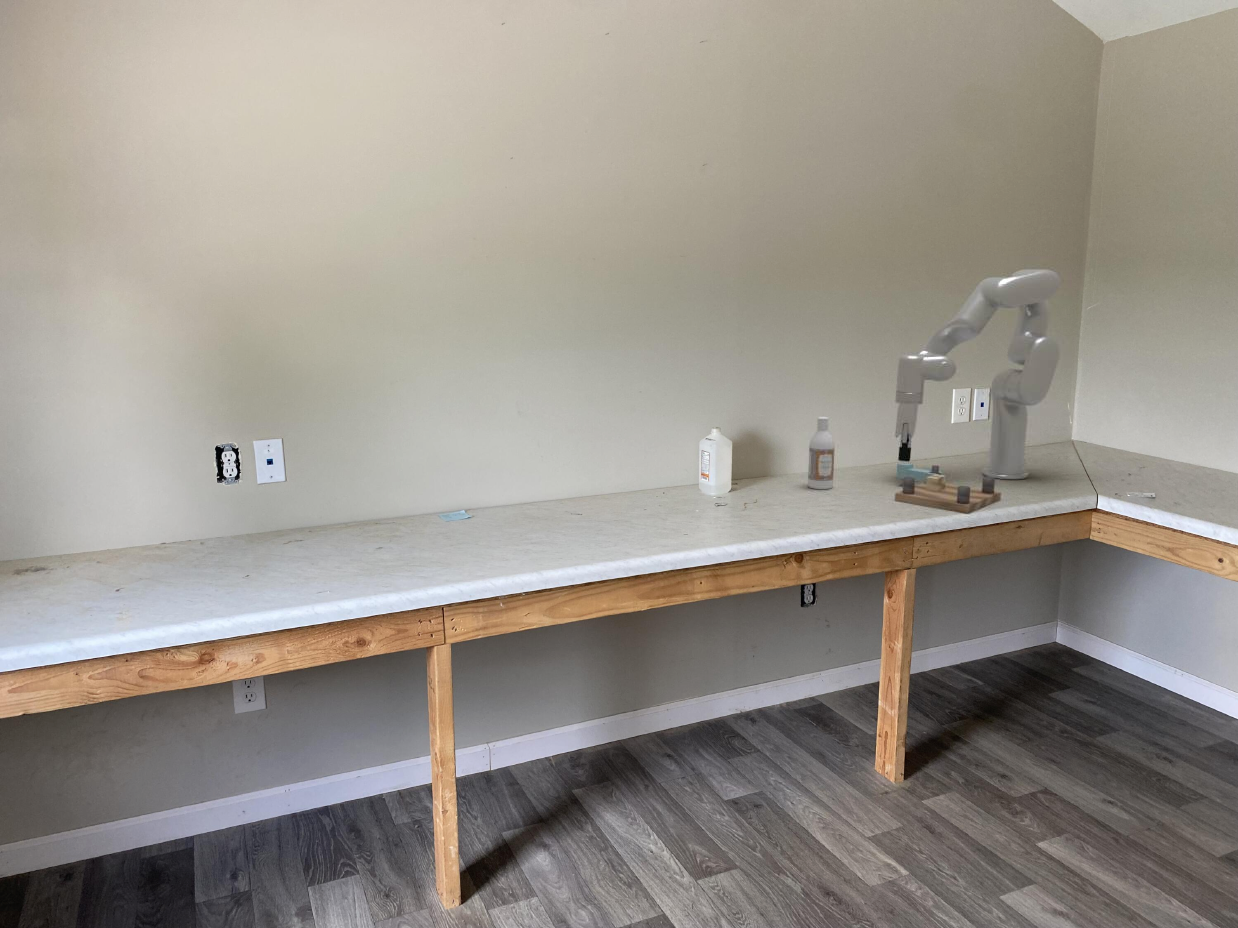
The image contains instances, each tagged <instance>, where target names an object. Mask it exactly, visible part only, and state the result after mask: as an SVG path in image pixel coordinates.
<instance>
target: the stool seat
mask: <svg viewBox="0 0 1238 928" xmlns="http://www.w3.org/2000/svg"><path fill="white" fill-rule="evenodd" d="M939 470H940V465H933V464H932V465H931V471H932V473H933V474H935V475H932V476H929V477H927V480H926V482H922V483H920V484H917V485H916V481H915V478H912V477H904V478H903V479H902V490H901V491H898V492H895V494H894V501H895V502H902V503H907V504H912V505H918V506H923V507H929V508H934V509H940V510H946V511H949V512H950V511H951V512H952V511H953V512H957V513H961V514H971V513H973V512H975V511H977V510H979V509H982V508H984V507H987V506H988V505H991V504H993V503H996V502H998V501H1000V500H1001V498H1002V491H996V490H995V484H996V483H995V482H996V478H994V477H989V476H986V475H984V476H982V485H981V488H977V487H970V486H967V485H959V484H953V483H946V475H944V474H943V475H938V474H939V472H940V471H939Z"/></svg>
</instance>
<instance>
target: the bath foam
mask: <svg viewBox="0 0 1238 928" xmlns="http://www.w3.org/2000/svg"><path fill="white" fill-rule="evenodd" d="M816 421H817V424H816V426H817V429H816V431H815V432H814V434H813V435H812V437H811V439H810V442H809V446H808V447H809V448H808V471H807V472H808V473H807V474H808V475H807V476H808V477H807V486H808V487H809V488H810V489H815V490H830V489H832V488H833V487H834V472H835V471H834V470H835V442H834V438H833V437H832V434H830V432H829V430H828V429H829V417H826V416H818V417H817V420H816Z"/></svg>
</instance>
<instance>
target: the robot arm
mask: <svg viewBox="0 0 1238 928" xmlns="http://www.w3.org/2000/svg"><path fill="white" fill-rule="evenodd" d="M1061 286H1062V285H1061V279H1060V276H1059V275H1058V274H1057V272H1056V271H1054V270H1053V271H1052V270H1050V269H1029V268H1028V269H1021V270H1017V271H1015V272H1014V273H1013V274H1011V275H1010V277H1008V276H1007V277H1002V276H1001V277H987V278H985V279H983V280H981V282H979V283H978V285H977V286H976V288H975V289H974V290H973V291H972V293H971V294H970V296H969V297H968V298H967V300H966V301H965V302H964V304H963V305H962V307H961V308H960V309H959V310H958V312H957V313H956V314H955V316H954V317H953V318H952V319H951V320H950V321H949V322H947V323H946V324H944V326H942V327H941V328H940V329H939V330H937V331H936V332H934V333H933V334H932V335H931V337H929V339H928V340H927V341H926V342H925V343H924V345H923V346H922V347H921V349H920V350H919V351H918V352H917V354H910V353H909V354H907V353H906V354H902V355H900V356H899V358H898V362H897V363H898V365H897V375H896V376H897V377H896V388H895V403H896V404H898V406H897V415H896V422H895V423H896V424H895V432H894V437H895V438H896V439H897V438H898V437H899V436H900V437H899V438H900V440H899V447H898V448H899V449H898V461H899V462H907V463H909V462H910V461H911V452H912V438H914V435H915V432H916V428H917V422H918V421H917V420H918V409H919V405H923V404H924V394H925V393H924V390H925V381H934V382H946V381H948V380H950V379H952V378H953V377H954V376H955V374H956V372H957V364H956V362H955V361H954V359H952V357H950V356H948V354H949V352H951V351H952V350H953V349H955V348H956V347H957V346H959V345H961V344H963V343H966V342H968V341H971V340H972V339H975V338H977V336H979V335H980V334H981V333H982V332H983V331H984V329H985V327H986V326H987V325H988V324H989V322H990V321H991V319H992V318H993V316H995V314H996V313H997V311H998V310H999V309H1015V308H1018V315H1017V320H1016V323H1015V326H1014V330H1013V332H1012V335H1011V338H1010V342H1009V345H1008V348H1007V356H1008V359H1009V361H1010V362H1011V363H1013V364H1015V365H1017V366H1023V367H1022V369H1019V368H1018V369H1017V368H1005V369H1003V370H1000V371H998V372H997V373H996V374H995V375H994V377H993V379H992V381H991V388H990V389H991V398H992V400H991V401H992V417H991V418H992V419H991V420H992V421H991V430H990V431H991V432H990V442H989V443H990V444H989V445H990V446H989V456H988V457H989V458H988V467H985V468H984V469H982V474H983V475H984V476H989V477H994V478H995V479H1002V480H1021V479H1022V480H1023V479H1027V478H1028V477H1029V472H1028V471H1027V470H1025V469H1024V465H1025V464H1026V462H1027V461H1026V459H1025V452H1026V451H1025V450H1026V440H1027V439H1026V436H1027V427H1028V426H1027V425H1028V408H1027V406H1029V407H1032V406H1036V405H1038V404H1040V403H1041V402H1042V401H1044V399H1045V398H1046V396H1047V394H1048V393H1049V391H1050V387H1051V384H1052V381H1053V379H1054V376H1055V373H1056V370H1057V367H1058V364H1059V360H1060V357H1061V356H1060V354H1061V353H1060V352H1061V351H1060V345H1059V343H1058V341H1057V340H1056V339H1055V338H1054V337H1052V336H1051V335H1048V334H1047V332H1048V328H1049V324H1050V321H1051V306H1050V304H1049V300H1051V299H1053V298H1054V297H1055V296H1056V295H1057V294H1058V293H1059V291H1060V288H1061Z"/></svg>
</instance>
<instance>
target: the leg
mask: <svg viewBox="0 0 1238 928" xmlns="http://www.w3.org/2000/svg"><path fill="white" fill-rule="evenodd" d="M932 475H935V474H933V473H932V470H929V469H928V470H926V469H920V468H914V463H909V462H900V463H899V462H898V463H897V464H896V479H902V480H903V478H904V477H912V478H915V482H920V483H925V482H926V480H927V477H929V476H932ZM938 475H943V476H944V472H943V471H939V474H938Z"/></svg>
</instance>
